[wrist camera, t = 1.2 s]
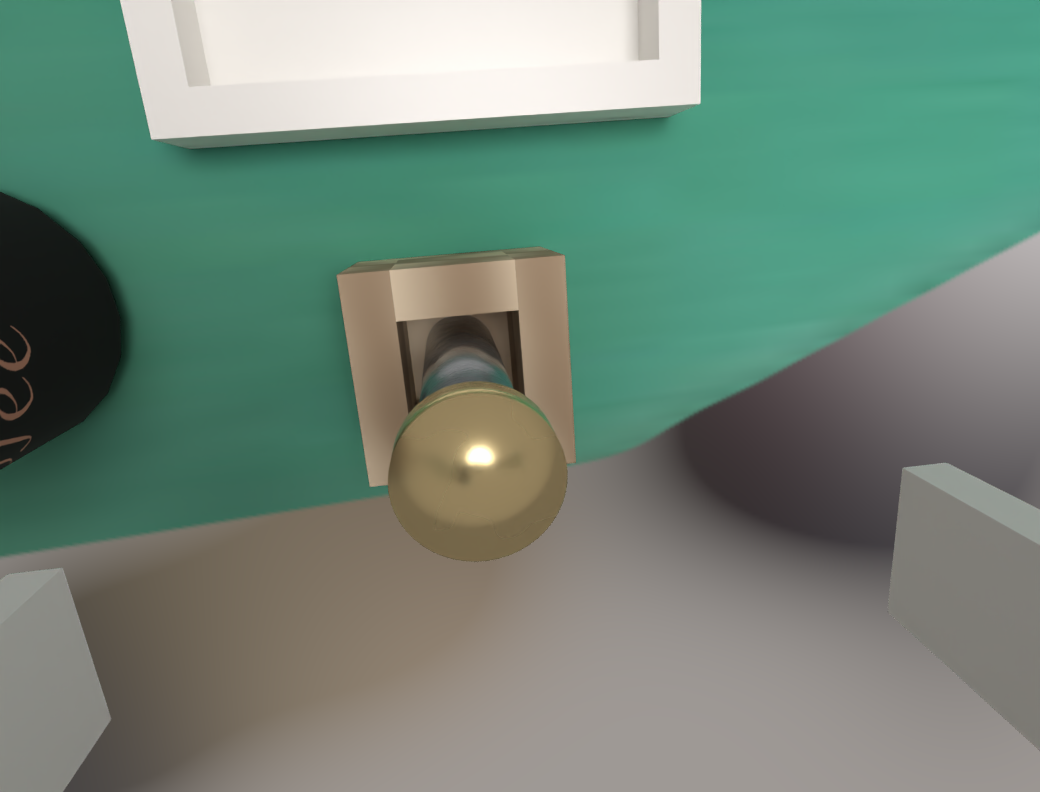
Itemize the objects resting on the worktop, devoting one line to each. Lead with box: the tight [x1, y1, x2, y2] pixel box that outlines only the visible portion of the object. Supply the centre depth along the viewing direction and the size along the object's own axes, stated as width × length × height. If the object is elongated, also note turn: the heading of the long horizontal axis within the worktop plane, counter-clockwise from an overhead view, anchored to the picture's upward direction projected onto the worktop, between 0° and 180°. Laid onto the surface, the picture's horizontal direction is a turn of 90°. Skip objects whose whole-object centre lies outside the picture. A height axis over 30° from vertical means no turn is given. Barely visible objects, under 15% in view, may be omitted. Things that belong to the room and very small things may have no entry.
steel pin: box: [388, 315, 567, 562], centre depth 21 cm, size 4×4×15 cm
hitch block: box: [337, 247, 576, 487], centre depth 26 cm, size 8×8×6 cm
